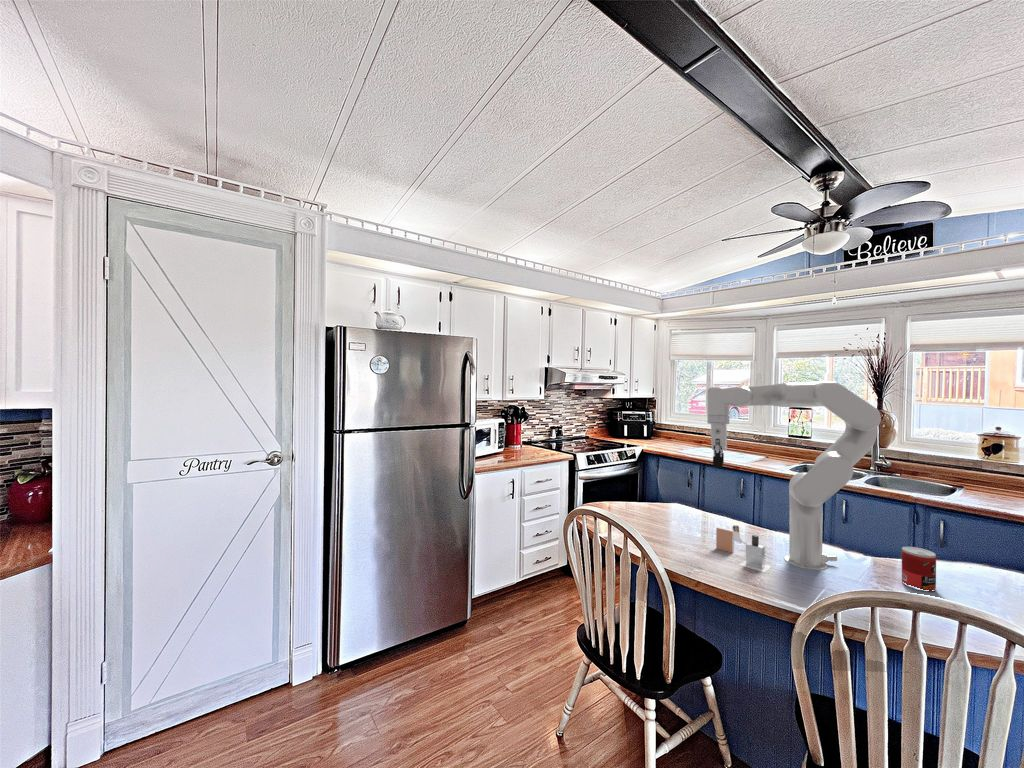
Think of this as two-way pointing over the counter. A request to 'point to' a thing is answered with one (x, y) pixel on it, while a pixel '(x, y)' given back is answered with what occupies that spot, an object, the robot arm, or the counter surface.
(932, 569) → the canned food
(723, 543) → the tile
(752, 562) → the steel turner
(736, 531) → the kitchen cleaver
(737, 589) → the counter surface
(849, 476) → the robot arm
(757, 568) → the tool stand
